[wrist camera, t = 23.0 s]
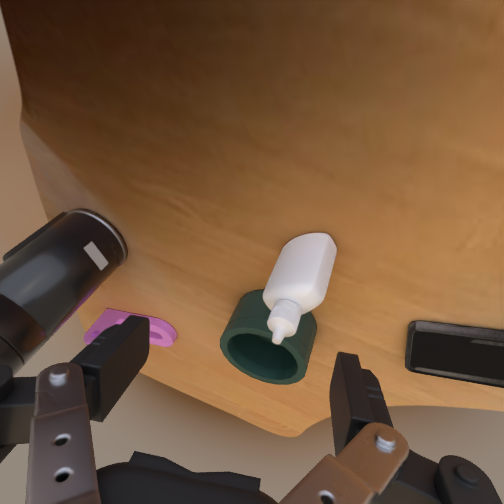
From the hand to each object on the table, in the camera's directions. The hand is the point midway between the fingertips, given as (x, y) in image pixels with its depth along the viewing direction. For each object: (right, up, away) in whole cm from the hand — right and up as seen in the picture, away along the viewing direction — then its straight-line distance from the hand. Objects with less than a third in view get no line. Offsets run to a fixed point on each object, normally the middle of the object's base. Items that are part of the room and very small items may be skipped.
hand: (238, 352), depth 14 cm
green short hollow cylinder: (+4, -5, +30) cm, 30 cm away
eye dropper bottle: (+7, +5, +21) cm, 22 cm away
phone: (+25, -6, +21) cm, 33 cm away
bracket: (-18, -8, +43) cm, 48 cm away
